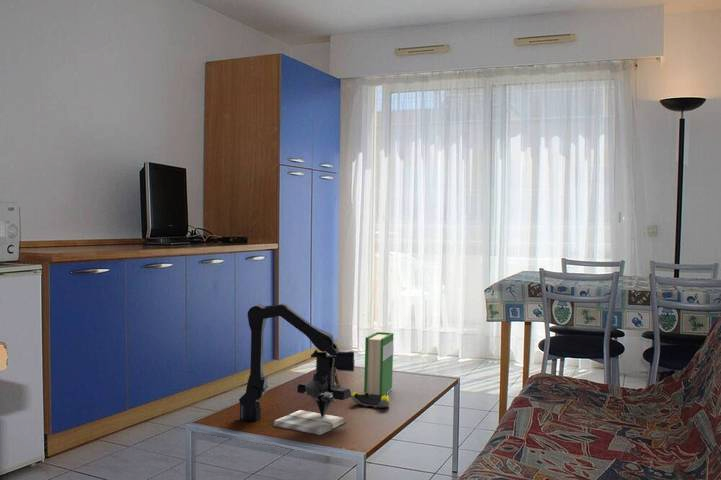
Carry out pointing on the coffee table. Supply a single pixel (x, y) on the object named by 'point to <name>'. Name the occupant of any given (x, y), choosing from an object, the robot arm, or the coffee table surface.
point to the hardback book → (378, 363)
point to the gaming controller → (370, 400)
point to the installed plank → (303, 425)
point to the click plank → (318, 417)
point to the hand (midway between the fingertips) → (322, 415)
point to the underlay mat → (316, 434)
